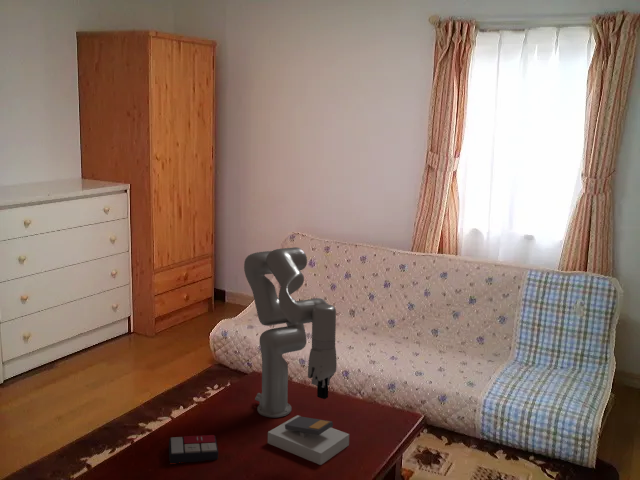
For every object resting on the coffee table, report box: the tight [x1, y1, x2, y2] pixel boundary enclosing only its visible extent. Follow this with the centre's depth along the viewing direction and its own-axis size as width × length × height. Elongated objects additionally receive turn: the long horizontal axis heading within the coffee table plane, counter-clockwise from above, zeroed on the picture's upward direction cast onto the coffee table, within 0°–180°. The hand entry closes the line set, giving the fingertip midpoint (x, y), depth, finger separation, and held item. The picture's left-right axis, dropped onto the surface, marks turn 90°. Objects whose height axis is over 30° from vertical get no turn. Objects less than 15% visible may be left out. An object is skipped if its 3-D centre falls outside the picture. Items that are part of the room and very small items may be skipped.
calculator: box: [168, 434, 219, 464], centre depth 204 cm, size 11×4×15 cm
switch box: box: [267, 414, 350, 466], centre depth 211 cm, size 22×16×6 cm
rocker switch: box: [285, 415, 334, 435], centre depth 211 cm, size 14×8×2 cm, turn 54°
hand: (322, 397), depth 205 cm, fingers closed
